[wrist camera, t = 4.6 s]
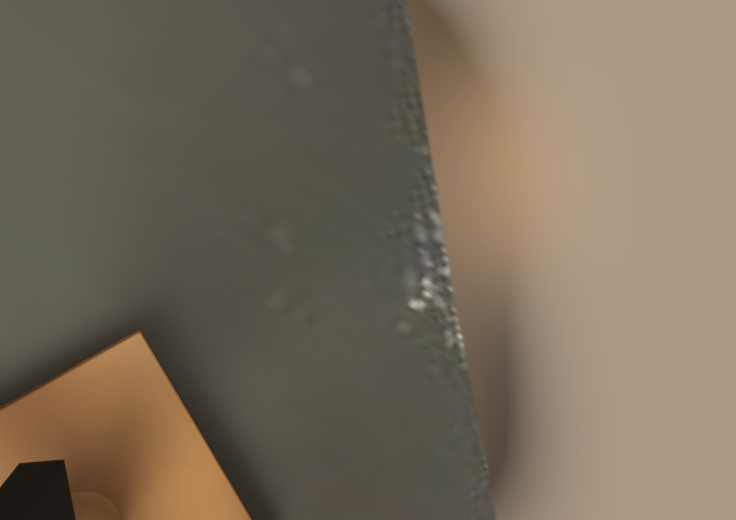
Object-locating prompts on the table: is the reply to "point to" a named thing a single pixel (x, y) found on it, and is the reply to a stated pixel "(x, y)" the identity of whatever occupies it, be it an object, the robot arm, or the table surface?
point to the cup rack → (119, 440)
